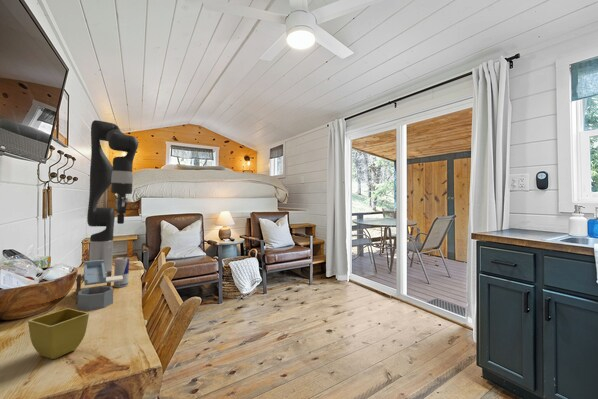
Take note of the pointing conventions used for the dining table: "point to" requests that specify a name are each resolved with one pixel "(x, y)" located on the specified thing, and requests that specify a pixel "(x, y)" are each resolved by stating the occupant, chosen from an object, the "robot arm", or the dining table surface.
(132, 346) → the dining table surface
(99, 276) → the ramp lever
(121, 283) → the energy drink
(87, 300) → the gray octagonal bowl
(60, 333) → the flower pot
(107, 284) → the lever stand
